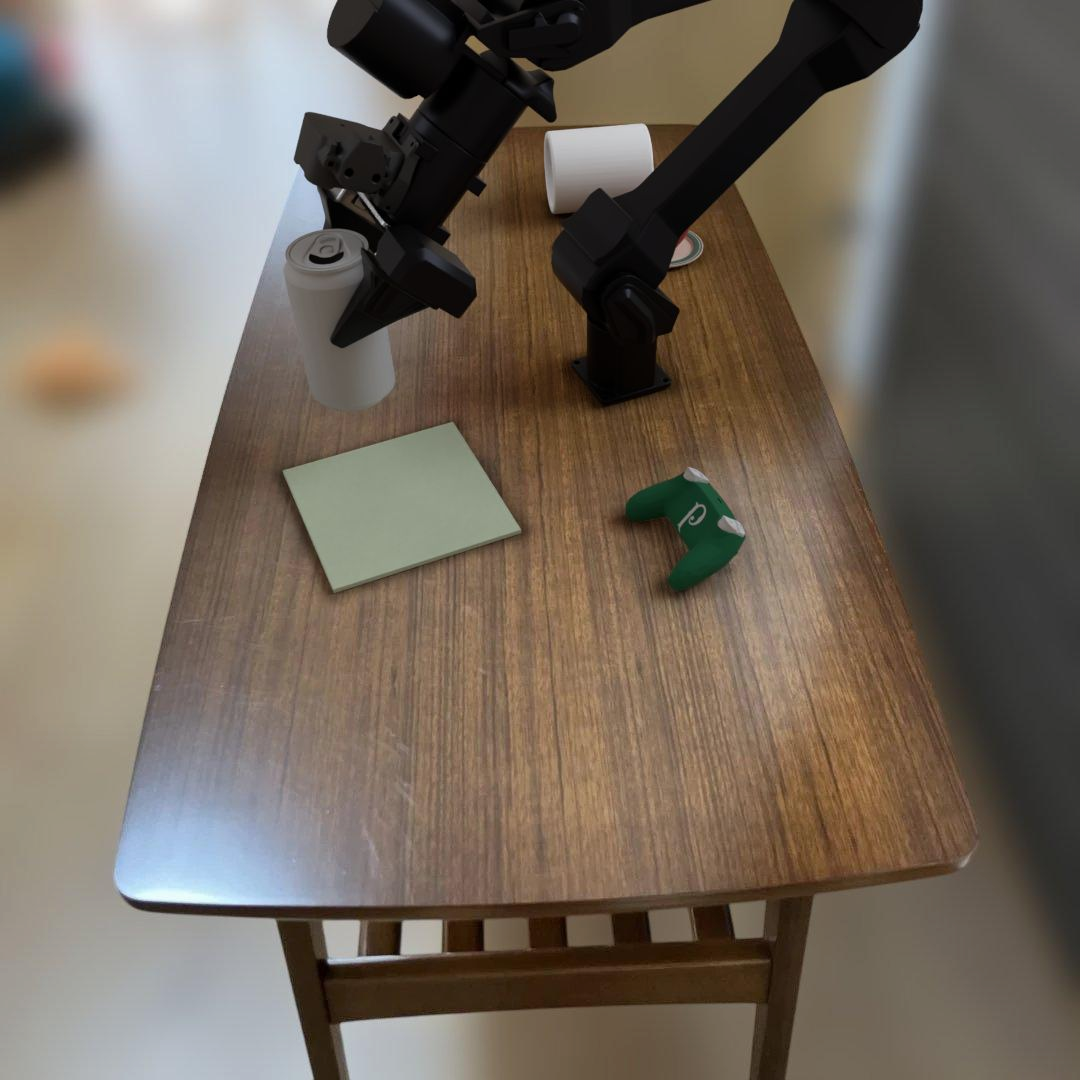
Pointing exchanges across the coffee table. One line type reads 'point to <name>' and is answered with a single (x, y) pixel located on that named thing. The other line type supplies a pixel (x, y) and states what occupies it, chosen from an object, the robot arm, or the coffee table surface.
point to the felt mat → (397, 505)
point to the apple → (687, 249)
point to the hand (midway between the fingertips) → (321, 321)
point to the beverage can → (335, 321)
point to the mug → (595, 163)
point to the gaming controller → (691, 524)
